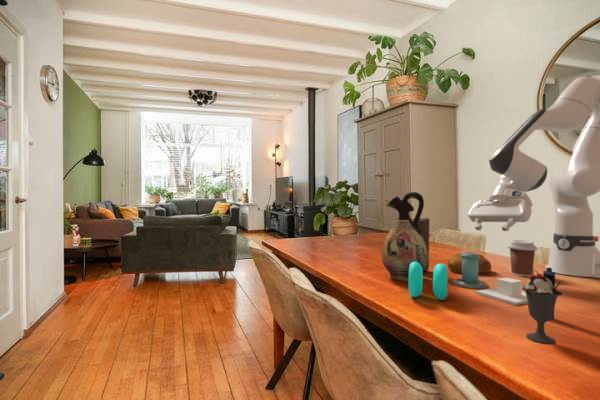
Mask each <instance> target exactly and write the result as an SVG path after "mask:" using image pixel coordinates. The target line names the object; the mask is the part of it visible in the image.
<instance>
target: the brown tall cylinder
mask: <svg viewBox="0 0 600 400" xmlns="http://www.w3.org/2000/svg"><path fill="white" fill-rule="evenodd" d="M411 220H412V221H414V218H411ZM418 225H419V228H420V232H421V236H422V238H423V240H424V242H425V244H426V248H427V253H428V261H427V265H426V267H425V269H424V270H423V272H424V271H429V270H430V269H429V268H430V218H429V217H428V218H427V217H423V218H421V217H420V219H419V221H418Z"/></svg>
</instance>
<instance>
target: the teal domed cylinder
mask: <svg viewBox="0 0 600 400" xmlns="http://www.w3.org/2000/svg"><path fill="white" fill-rule="evenodd" d="M461 253H462V254H461V257H462V273H461V278H462V282H463V283H467V284H478V280H479V273H478V266H479V258H480V255H481V254H480V253H475V252H469V253H468V252H461ZM474 253H475V254H474ZM479 254H480V255H479Z"/></svg>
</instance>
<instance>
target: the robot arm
mask: <svg viewBox="0 0 600 400" xmlns="http://www.w3.org/2000/svg"><path fill="white" fill-rule="evenodd" d="M587 119H588V120H587ZM585 122H586V123H585ZM584 123H585V124H584ZM583 124H584V126H583ZM582 126H583V128H582V130H581V132H580V134H579V135H578V137H577V139H576V141H575V143H574V145H573V147H572V155H571V159H570V162H569V165H568V166H567V167H566V168H562V169H559V170H558V171H555V173H553V175H552V176H551V177H550V178H549V182H548V184H549V186H548V187H549V188H550V190H551V195H552V202H553V207H554V215H555V216H554V217H555V218H554V219H555V220H554V234H553V237H552V239H553V240H552V242H553V245H552V246H551V247H550V248H549V257H548V264H545V267H544V268H545V269H547V268H552V272H555V274H561V275H565V276H566V275H567V276H573V277H584V278H585V277H586V278H587V277H588V278H595V279H596V278H597V279H600V249H598V248H597V247H596V242H599V239H600V237H599V236H598V235H593V234H594V233H593V228H594V225H593V224H594V214H593V211H592V210H591V207H590V204H589V201H588V197H591V196H594V195H596V194H598V193H599V192H600V74H598V75H597V74H596V75H586V76H580V77H577V78H575V79H574V80H572V81H571V83H569V85H568V86H567V87H565V89H564V90H563V91H562V92H561V93H560V94H559V96H558V97H557V98H556V100H555V101H554V103H553V104H552V105H551V106H550V107H548V108H540V109H538V110H537V111H535V112H534V113H533V114H532V115H530V117H529V118H528V119H526V120H525V122H523V123H522V124H521V125H520V126H519V128H517V129H516V130H515V131H514V133H512V135H510V137H509V138H508V139H507V140H506V141H505V142H503V143H502V145H500V146H499V147H498V148H497V149H495V150H494V151H493V152H492V154H491V156H490V157H489V158H488V162H489V166H490V170H492V171H494V172H495V173H497V174H499V177H498V179H497V181H496V185H495V187H494V188H493V190H492V192H491V195H490V197H489V199H485V200H483V199H481V200H479V201H477V202H475V203H474V204H473V205H472V206H471V208H470V210H469V211H468V213H467V216H468V218H469V219H470V221H471V222H472V223H475V225H474V229H475V230H476V231H481V230H482V229H483V226H482V223H489V222H490V223H503V224H502V226H501V230H502V231H503V232H508V231H510V228H512V227H513V226H514V225H515V224H516V223H526V222H528V221H529V220H530V218H531V215H532V212H533V211H532V210H533V209H532V207H533V201H532V200H531V198H530V197H529V195H528V194H527V193H528V192H531V191H534V190H537V189H539V188H540V187H541V186H543V184H544V182H545V181H546V179H547V177H548V168H547V165H545V164H543V163H542V162H540V161H538V160H537V159H535V158H534V157H531V156H529V155H527V154H526V153H524V152H523V151H521V150H520V149H519V148H520V146H521V145H522V144H523V143H524V142H525V141H526V140H527V139H528V138H529V137H530V136H531V135H532V134H533V133H534V132H535V131H538V130H540V131H548V132H554V133H567V132H571V131H574V130H577V129H579V128H580V127H582ZM526 192H527V193H526Z"/></svg>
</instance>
